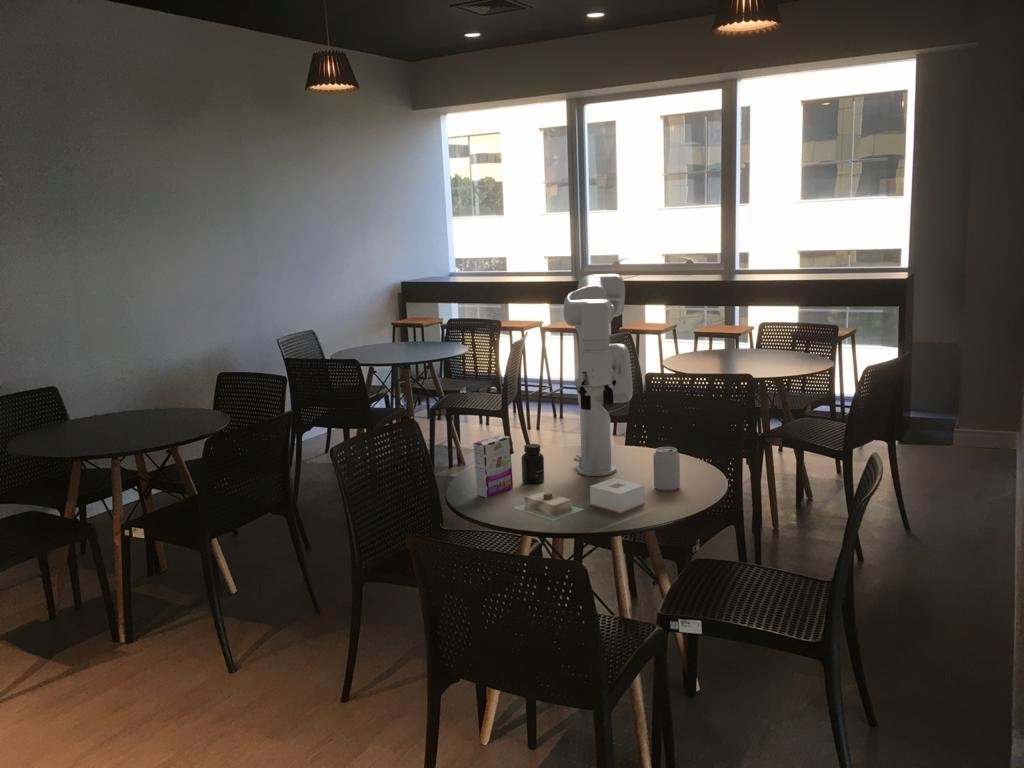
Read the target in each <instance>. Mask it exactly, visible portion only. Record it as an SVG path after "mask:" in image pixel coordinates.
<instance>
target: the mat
mask: <svg viewBox="0 0 1024 768" xmlns="http://www.w3.org/2000/svg"><path fill="white" fill-rule="evenodd" d="M513 509H515V510H518V511H521V512H524V513H528V514H532V515H533V516H537V517H540V518H543V519H547V520H549V521H552V522H554V521H556V520H559V519H562V518H565V517H568V516H571V515H573V514H577V513H578V512H582V511H584V510H585V509H584V508H582V507H577V506H573V505H572V511H569V512H566V513H563V514H560V515H558V516H553V515H549V514H546V513H543V512H540V511H537V510H533V509H530V508H527V507H525V503H524V504H520V505H517V506H514V507H513Z"/></svg>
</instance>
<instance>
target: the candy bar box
mask: <svg viewBox="0 0 1024 768" xmlns="http://www.w3.org/2000/svg"><path fill="white" fill-rule="evenodd" d="M511 449H512V448H511V436H508V435H502V434H499V435H495V436H491V437H489V438H485V439H483V440H478V441H475V442H473V457H474V467H475V469H474V470H475V482H476V483H475V484H476V495H477V497H480V498H485V499H486V498H489V497H493V496H495V495H499V494H502V493H505V492H509V491H512V490H513V489H514V484H513V483H514V481H513V466H512V451H511Z"/></svg>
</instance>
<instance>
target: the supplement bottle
mask: <svg viewBox="0 0 1024 768" xmlns="http://www.w3.org/2000/svg"><path fill="white" fill-rule="evenodd" d="M523 451H524V453H523V454H522V456H521V479H522V480H521V482H522V484H523V485H525V486H528V485H529V486H532V485H533V486H537V485H541V484H544V482H545V460H544V459H545V458H544V454H543V453H542V452H541V444H538V443H528V444H525V445H524V448H523Z"/></svg>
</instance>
